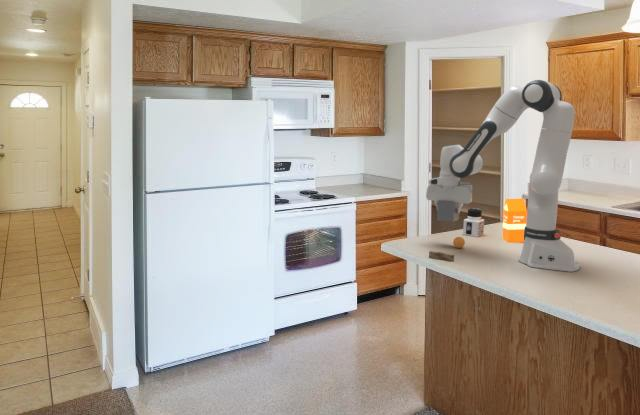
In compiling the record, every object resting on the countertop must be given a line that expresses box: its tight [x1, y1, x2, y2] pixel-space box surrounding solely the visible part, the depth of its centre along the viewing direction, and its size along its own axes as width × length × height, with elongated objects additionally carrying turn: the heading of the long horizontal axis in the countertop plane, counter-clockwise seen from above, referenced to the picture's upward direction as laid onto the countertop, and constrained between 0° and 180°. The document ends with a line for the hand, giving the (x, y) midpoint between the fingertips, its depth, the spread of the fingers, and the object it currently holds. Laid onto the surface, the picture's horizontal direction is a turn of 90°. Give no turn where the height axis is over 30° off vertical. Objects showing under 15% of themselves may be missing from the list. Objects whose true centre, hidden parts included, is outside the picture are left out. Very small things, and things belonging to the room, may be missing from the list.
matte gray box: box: [436, 200, 460, 223], centre depth 235 cm, size 7×7×9 cm
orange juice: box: [502, 198, 527, 243], centre depth 250 cm, size 8×9×20 cm
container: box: [462, 207, 485, 238], centre depth 261 cm, size 8×8×13 cm
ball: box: [452, 236, 466, 249], centre depth 234 cm, size 5×5×5 cm
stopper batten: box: [428, 250, 455, 262], centre depth 216 cm, size 10×2×2 cm, turn 56°
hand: (448, 211), depth 236 cm, fingers closed on matte gray box, 7 cm apart
